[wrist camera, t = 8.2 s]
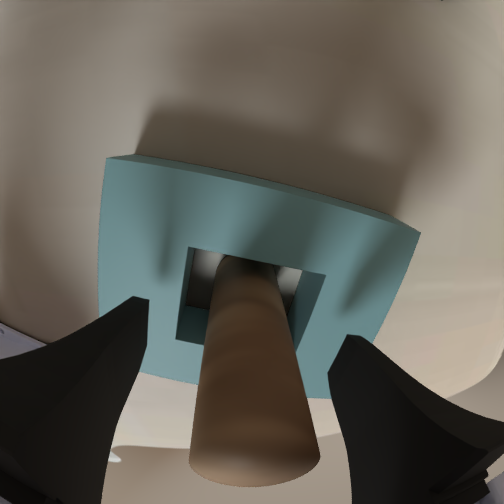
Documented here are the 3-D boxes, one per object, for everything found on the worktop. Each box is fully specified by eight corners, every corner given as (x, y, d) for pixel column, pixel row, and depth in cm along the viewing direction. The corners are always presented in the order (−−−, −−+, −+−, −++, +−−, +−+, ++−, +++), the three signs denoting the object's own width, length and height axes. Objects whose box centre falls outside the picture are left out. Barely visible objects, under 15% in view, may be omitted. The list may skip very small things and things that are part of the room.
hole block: (120, 328, 15) (103, 361, 13) (133, 154, 12) (106, 157, 9) (327, 365, 17) (339, 398, 14) (390, 215, 14) (420, 232, 11)
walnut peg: (210, 297, 15) (185, 480, 5) (221, 244, 14) (195, 427, 4) (266, 308, 15) (294, 487, 6) (282, 257, 14) (342, 435, 5)
